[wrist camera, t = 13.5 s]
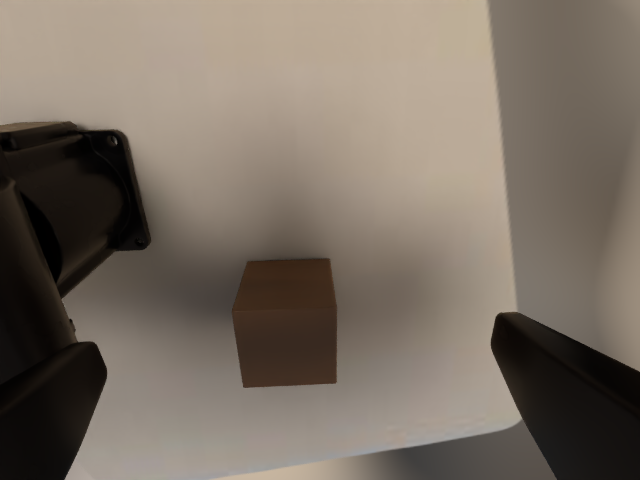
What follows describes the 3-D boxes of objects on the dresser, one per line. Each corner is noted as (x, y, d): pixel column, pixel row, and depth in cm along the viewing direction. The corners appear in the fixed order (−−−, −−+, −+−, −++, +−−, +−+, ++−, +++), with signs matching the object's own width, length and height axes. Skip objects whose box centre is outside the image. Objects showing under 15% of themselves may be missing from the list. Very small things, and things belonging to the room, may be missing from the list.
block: (330, 324, 23) (336, 384, 18) (255, 327, 23) (243, 388, 18) (329, 258, 21) (337, 307, 16) (247, 260, 21) (231, 311, 16)
